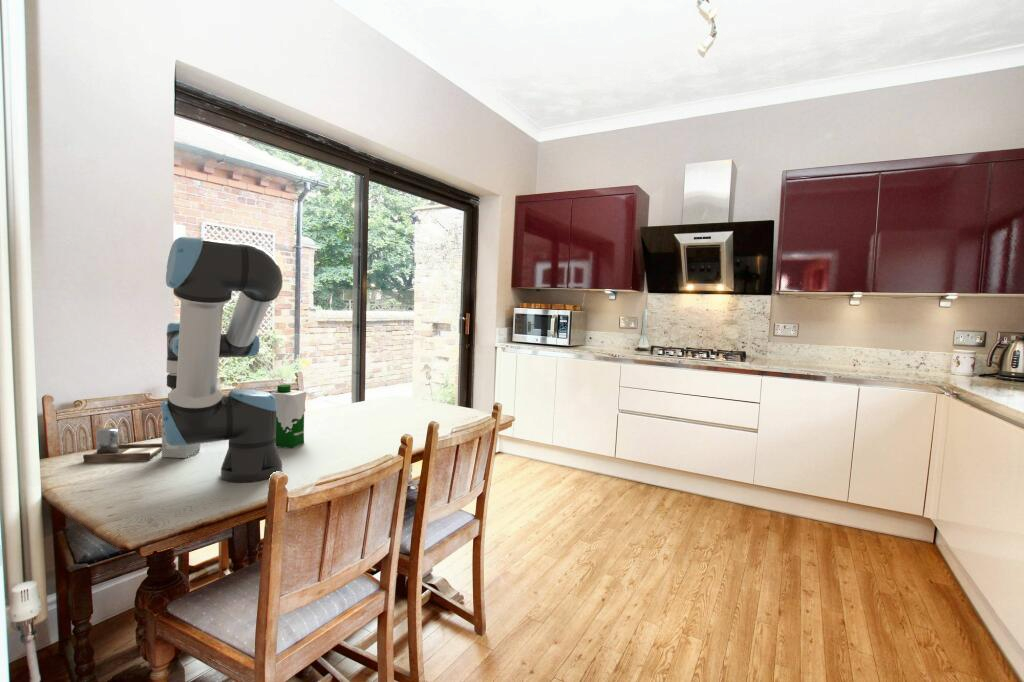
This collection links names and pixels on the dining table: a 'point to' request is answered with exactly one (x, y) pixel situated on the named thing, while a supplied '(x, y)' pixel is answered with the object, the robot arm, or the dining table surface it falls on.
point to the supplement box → (182, 450)
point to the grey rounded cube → (108, 440)
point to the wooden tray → (127, 453)
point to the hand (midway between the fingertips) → (181, 442)
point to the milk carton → (289, 416)
